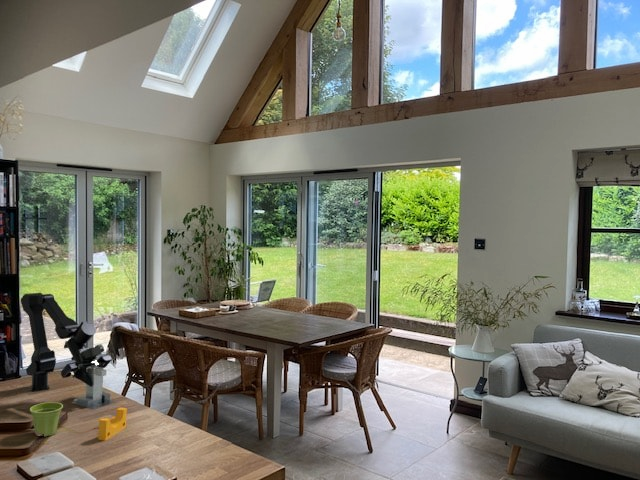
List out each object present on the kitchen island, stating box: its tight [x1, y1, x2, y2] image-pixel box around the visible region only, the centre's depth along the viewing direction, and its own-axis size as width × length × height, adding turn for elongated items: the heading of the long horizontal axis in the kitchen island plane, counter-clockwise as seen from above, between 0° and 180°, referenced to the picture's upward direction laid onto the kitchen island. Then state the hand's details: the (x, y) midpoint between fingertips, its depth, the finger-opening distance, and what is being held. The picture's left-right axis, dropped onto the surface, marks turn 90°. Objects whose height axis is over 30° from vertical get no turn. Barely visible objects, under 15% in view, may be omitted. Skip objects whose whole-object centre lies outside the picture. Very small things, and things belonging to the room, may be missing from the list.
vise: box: [71, 391, 116, 411], centre depth 190 cm, size 12×10×4 cm
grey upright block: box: [85, 366, 107, 405], centre depth 190 cm, size 7×4×13 cm, turn 62°
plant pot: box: [29, 401, 64, 438], centre depth 163 cm, size 9×9×9 cm
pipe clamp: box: [97, 407, 128, 442], centre depth 167 cm, size 12×4×6 cm, turn 171°
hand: (96, 384), depth 190 cm, fingers closed on grey upright block, 4 cm apart
